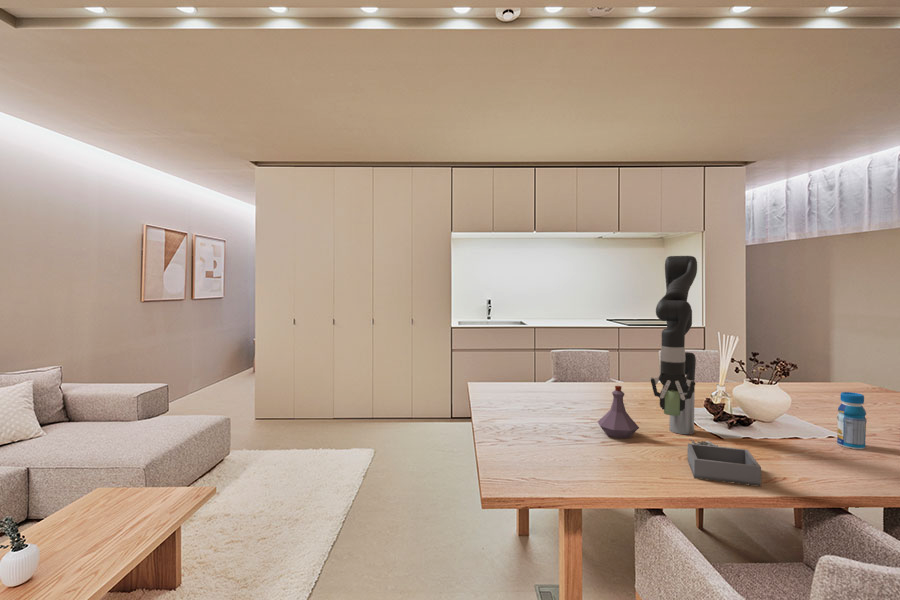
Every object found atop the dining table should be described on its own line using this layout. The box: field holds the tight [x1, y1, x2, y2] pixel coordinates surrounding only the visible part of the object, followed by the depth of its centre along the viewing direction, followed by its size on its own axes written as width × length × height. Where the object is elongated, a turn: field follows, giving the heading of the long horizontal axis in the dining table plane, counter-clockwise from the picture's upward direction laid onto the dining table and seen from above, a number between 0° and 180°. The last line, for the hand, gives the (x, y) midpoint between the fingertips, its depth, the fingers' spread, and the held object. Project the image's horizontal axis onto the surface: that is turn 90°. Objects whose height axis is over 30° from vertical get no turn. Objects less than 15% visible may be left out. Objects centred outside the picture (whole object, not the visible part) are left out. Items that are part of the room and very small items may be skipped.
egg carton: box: [689, 438, 720, 447], centre depth 169 cm, size 11×8×4 cm
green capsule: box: [663, 389, 680, 416], centre depth 156 cm, size 5×5×8 cm
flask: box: [597, 385, 640, 440], centre depth 189 cm, size 16×16×20 cm
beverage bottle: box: [836, 391, 867, 450], centre depth 175 cm, size 8×8×20 cm
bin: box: [687, 442, 762, 487], centre depth 151 cm, size 16×18×6 cm
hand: (672, 409), depth 157 cm, fingers closed on green capsule, 5 cm apart
